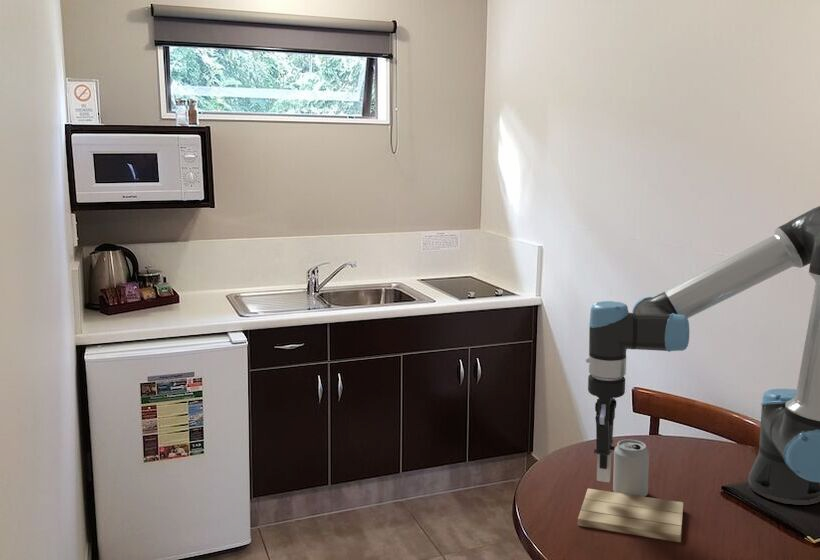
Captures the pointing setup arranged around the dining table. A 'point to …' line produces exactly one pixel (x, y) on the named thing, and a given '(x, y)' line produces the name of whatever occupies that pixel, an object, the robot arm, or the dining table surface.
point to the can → (631, 468)
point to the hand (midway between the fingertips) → (603, 480)
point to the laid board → (630, 525)
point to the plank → (633, 506)
